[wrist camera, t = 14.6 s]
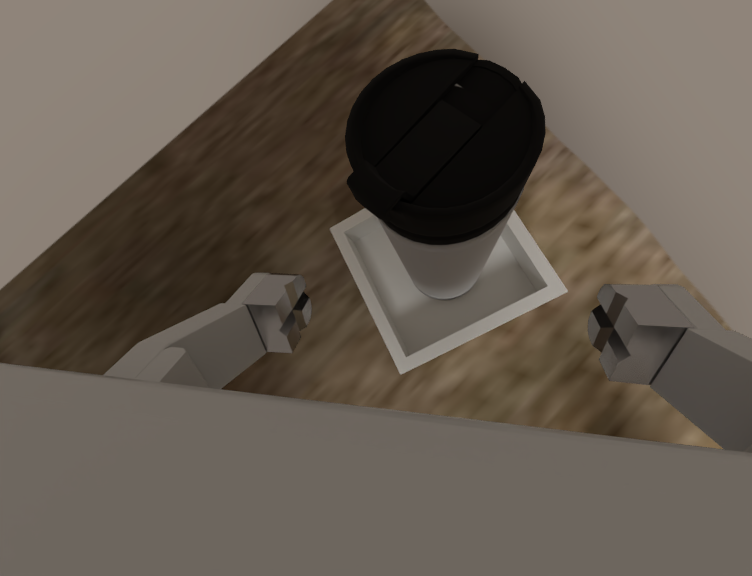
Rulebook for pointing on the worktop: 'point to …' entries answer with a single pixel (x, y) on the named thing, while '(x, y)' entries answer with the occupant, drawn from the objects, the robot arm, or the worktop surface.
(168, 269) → the worktop surface
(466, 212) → the travel mug
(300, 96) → the worktop surface
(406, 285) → the tray
